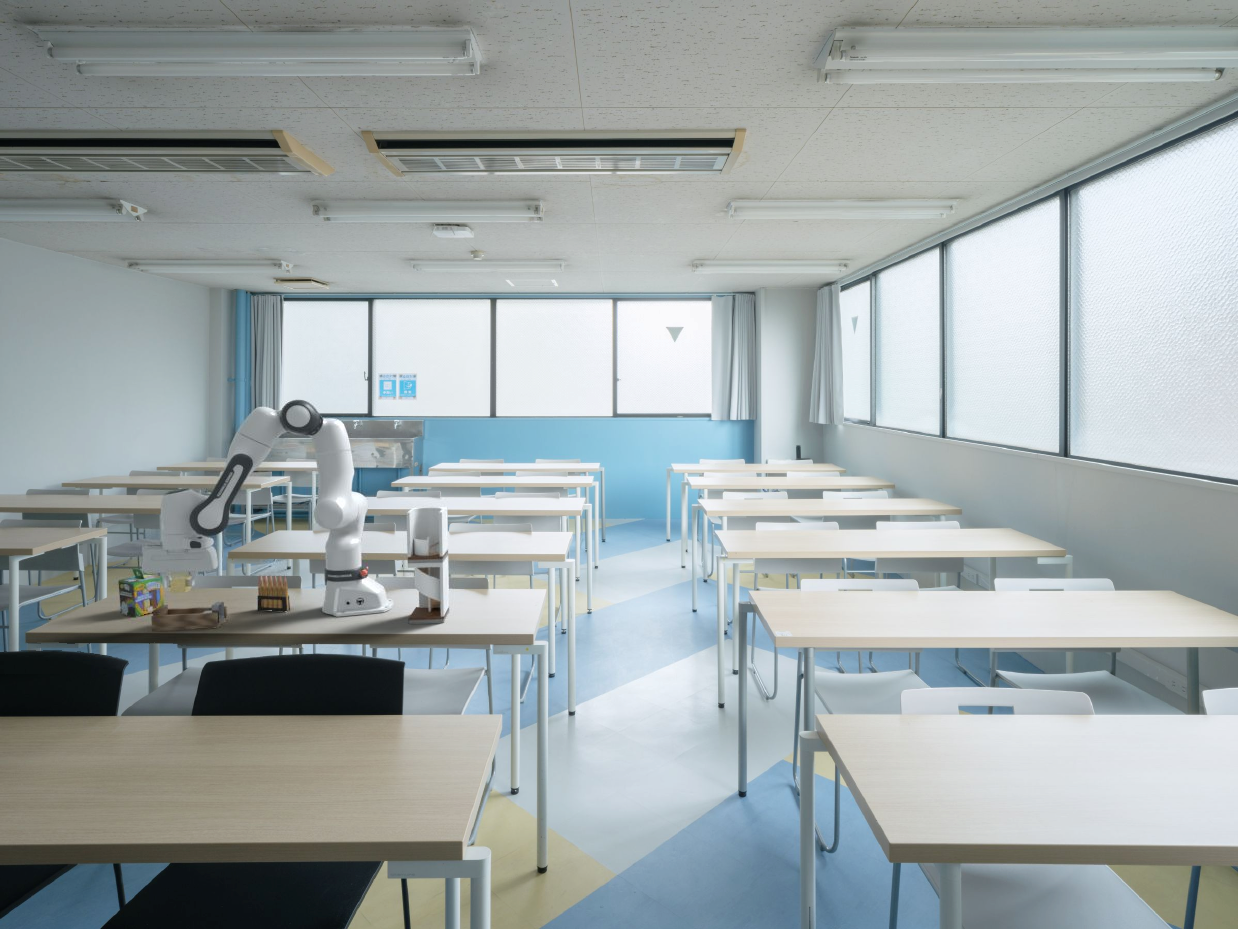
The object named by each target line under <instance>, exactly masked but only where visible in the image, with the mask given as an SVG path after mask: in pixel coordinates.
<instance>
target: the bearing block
mask: <svg viewBox="0 0 1238 929" xmlns="http://www.w3.org/2000/svg"><path fill="white" fill-rule="evenodd" d="M227 607H228V606H227V605H226V606H225V605H224V616H225V619H224V620H222V621H221V622H220V623H218V613H203V612H205V611H211V610H212V606H202V607H201V606H199V607H179V608H178V607H177V608H169V606H168V604H164V605H162V606H160V607H158V608H156V609H155V610H153V613H152V615H151V618H150V619H151V620H150V621H151V631H152V632H163V631H180V630H181V629H186V630H193V629H192V628H207V629H214V628H213V627H216V628H215V629H218V628H219V627H220V626H222V625H223V624H224V623H225V622H224V621H226V620H227V621H228V609H227ZM227 621H226V622H227ZM223 622H224V623H223ZM222 623H223V624H222ZM221 624H222V625H221ZM219 625H220V626H219ZM218 626H219V627H218ZM217 627H218V628H217ZM179 629H180V630H179Z"/></svg>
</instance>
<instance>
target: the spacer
mask: <svg viewBox="0 0 1238 929" xmlns="http://www.w3.org/2000/svg"><path fill="white" fill-rule="evenodd" d="M191 577H192V576H178V577H177V576H176V577H174V578H171V579H172V580H171V587H170V594H182V593H183V594H185V593H187V592H189V591H191V590H192V586H187V581H188V580H190V579H191Z"/></svg>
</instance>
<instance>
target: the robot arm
mask: <svg viewBox="0 0 1238 929" xmlns="http://www.w3.org/2000/svg"><path fill="white" fill-rule="evenodd" d="M285 433H286V434H293V435H297V436H304V435H305V436H309V438H310V439H311V441H312V443H313V447H314V454H315V461H316V467H317V468H316V469H317V475H318V488H317V489H318V490H317V501H316V504H315V507H314V510H313V517H314V521H315V522H316V524H317V525H318V526H319V527H321V528H323V529H325V530H329V534H328V538H327V541H326V543H325V546H324V547H325V568H324V574H323V575H324V584H325V585H324V586H325V593H324V594H325V595H324V601H323V605H322V608H321V611H322V613H324V614H328V615H333V616H334V617H348V616H357V615H358V616H360V615H368V614H378V613H379V614H380V613H385V612H388V611H390V610H391V609H392V608H393V607H394V600H393V599H392V598H387V591H386V589H385V587H384V586H383V585H382V584H381V583H379V582H377V581H376V580H374V579H373V578H372V577H369V566H364V565H362V540H363V539H362V538H363V532H364V528H365V527H364V525H365V521H366V520H365V519H366V515H367V512H368V510H369V502H368V499H367V498H366V496H365V495H363V494H362V493H360V492H356V491H353V479H354V476H355V468H354V467H355V466H354V461H353V460H354V459H353V454H352V448H351V442H350V439H349V435H348V434H349V433H348V432H347V429H346V425H345V424H344V423H343V421H341V420H340V419H337V418H332V417H331V418H329V417H326V418H325V417H323V416H322V415H321V414H320V412H319V411H318V410H317V408H316V407H315V406H314V405H313V404H312V403H310V402H308V401H306V400H303V399H295V400H294V399H293V400H290V401H289V402H287V403H285V405H284V406H282V409H280V410H275V409H273V408H271V407H268V406H258V407H256V408H254V409H253V410H252V411H251V412H250V413H249V415H248V416H247V417H245V419H244V421H243V422H242V423H241V425H240V426H239V428H238V430H237V431H236V433H235V434H234V435H233V439H232V441H231V443H230V446H229V450H228V452H227V455H226V456H227V457H226V462H225V465H224V469H223V471H222V474H221V475H220V476H219V479H218V481H217V482H216V484H215V486H214V487H213V489H212V490H211V492H210V494H209V495H208V496H207V495H204V494H202V493H198V492H196V491H195V490H193V489H192V488H187V487H185V488H178V489H177V488H176V489H173V490H170V491H168V492H166V493H164V495H163V496H162V498H161V503H160V522H162V530H161V541H156V542H155V541H154V542H152V541H150V542H147V543H145V544H143V545H142V548H141V554H142V560H141V572H142V573H144V574H162V578H163V579H164V581H165V582H166V584H167V585H166V586H167V588H171V580H172V579H173V578H172V577H171V576H172V574H173V573H189V575H190V577H191V579H190V580H188V581H187V586H191V587H193V586H195V580H196V578H197V576H198V575H199V573H201V572H203V573H207V572H209V573H211V572H213V571H215V570H216V569H217V568H218V567H219V560H218V559H219V558H218V554H217V550H216V548H215V547H214V546H213V545H214V543H215V542H214V538H212V536H216V535H219V534H220V533H222V532H224V530H225V529H226V528H228V527H227V526H228V524H229V522H230V515H231V510H230V509H231V507H232V504H233V502H234V500H235V498H236V497H237V495H238V493H239V492H240V489H241V488H242V486H243V484H244V483H245V481H246V480H247V479H248V477H249V476H251V474H252V473H253V472H254V471H256V469H257V468H258V467H259V466H260V465H261V464H262V463H263V462H264V461H265V460H266V458H267V457H268V456H269V454H270V453H271V451H272V449H273V447H274V446H275V444H276V442H277V440H278V439H279V437H281V435H282V434H285Z"/></svg>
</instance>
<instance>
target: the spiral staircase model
mask: <svg viewBox="0 0 1238 929" xmlns="http://www.w3.org/2000/svg"><path fill="white" fill-rule="evenodd" d="M448 523H449V522H448V506H441V507H440V506H437V507H434V506H431V507H430V506H429V507H424V506H423V507H422V506H421V507H413V508H411V509H410V510H407V512H406V546H407V548H406V550H407V555H406V556H407V568H408V569H409V568H413V569H414V586H415V589H416V590H417V591H418V606H415V608H414V609H413V611H412V612H411V613H410V615H409V617H408V624H409V625H416V624H418V625H419V624H424V625H425V624H445V622H446V620H445V619H447V618H446V617H448V616H447V615H449V614H448V613H450V586H449V584H450V582H449V581H450V580H449V579H450V578H449V573H450V572H449V531H448V530H449V527H448V526H449V525H448Z"/></svg>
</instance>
